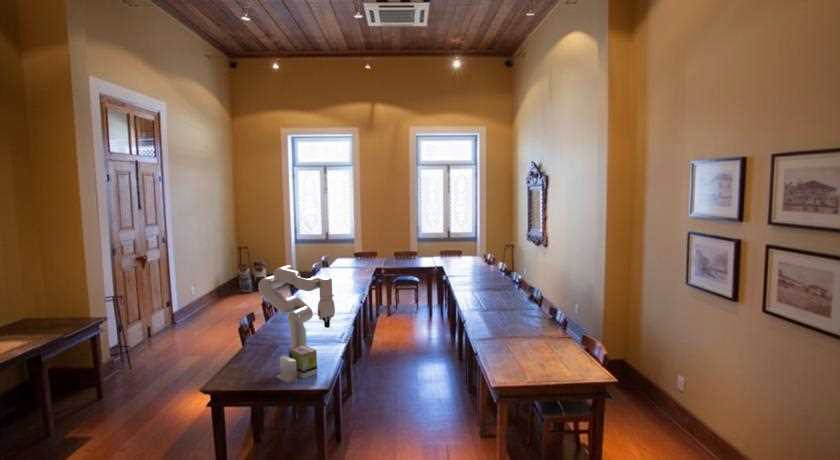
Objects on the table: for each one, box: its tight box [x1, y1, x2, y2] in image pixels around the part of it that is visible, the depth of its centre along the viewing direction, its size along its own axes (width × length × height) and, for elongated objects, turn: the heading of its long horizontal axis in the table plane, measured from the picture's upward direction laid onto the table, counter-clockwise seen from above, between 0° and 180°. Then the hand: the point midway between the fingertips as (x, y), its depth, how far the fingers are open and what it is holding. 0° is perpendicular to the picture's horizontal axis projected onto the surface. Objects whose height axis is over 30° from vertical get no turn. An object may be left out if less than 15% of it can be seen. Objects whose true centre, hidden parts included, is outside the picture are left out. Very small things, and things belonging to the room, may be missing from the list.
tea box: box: [288, 345, 318, 380], centre depth 270 cm, size 15×10×15 cm, turn 46°
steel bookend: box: [275, 354, 298, 385], centre depth 261 cm, size 12×6×12 cm, turn 48°
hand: (327, 327), depth 282 cm, fingers closed
